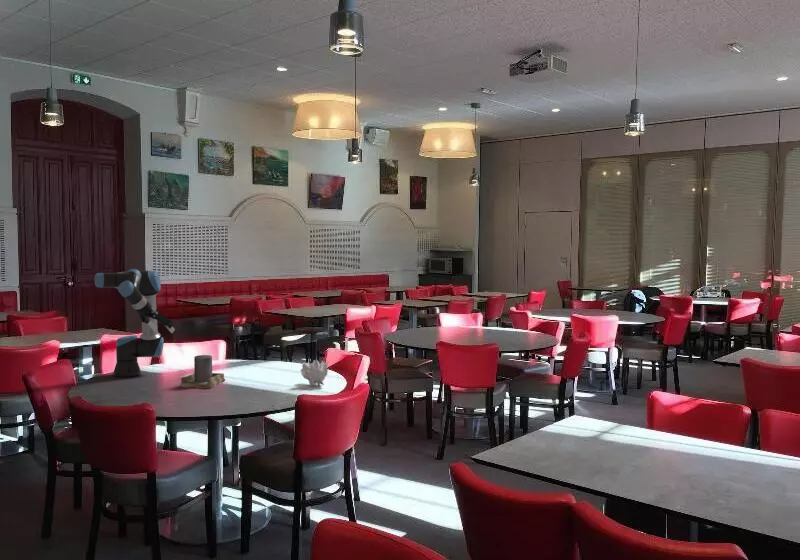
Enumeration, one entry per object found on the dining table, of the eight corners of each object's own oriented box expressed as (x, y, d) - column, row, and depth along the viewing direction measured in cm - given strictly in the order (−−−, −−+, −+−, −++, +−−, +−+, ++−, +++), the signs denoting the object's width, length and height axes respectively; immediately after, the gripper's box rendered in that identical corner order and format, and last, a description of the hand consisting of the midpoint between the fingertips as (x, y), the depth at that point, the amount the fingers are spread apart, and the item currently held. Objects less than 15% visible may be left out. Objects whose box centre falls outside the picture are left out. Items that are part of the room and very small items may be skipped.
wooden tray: (195, 380, 383) (195, 372, 383) (225, 381, 380) (225, 373, 380) (180, 387, 365) (180, 378, 365) (211, 388, 362) (211, 379, 362)
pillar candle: (195, 379, 376) (194, 352, 375) (213, 378, 378) (212, 352, 377) (193, 382, 367) (193, 356, 366) (211, 382, 369) (211, 355, 368)
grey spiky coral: (338, 362, 373) (318, 348, 367) (327, 389, 364) (306, 375, 357) (318, 367, 388) (298, 354, 381) (306, 393, 378) (286, 380, 372)
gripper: (121, 309, 351) (144, 334, 365) (153, 311, 339) (176, 337, 353) (129, 298, 356) (152, 323, 370) (161, 300, 344) (184, 326, 357)
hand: (164, 330), depth 361 cm, fingers open, 13 cm apart
